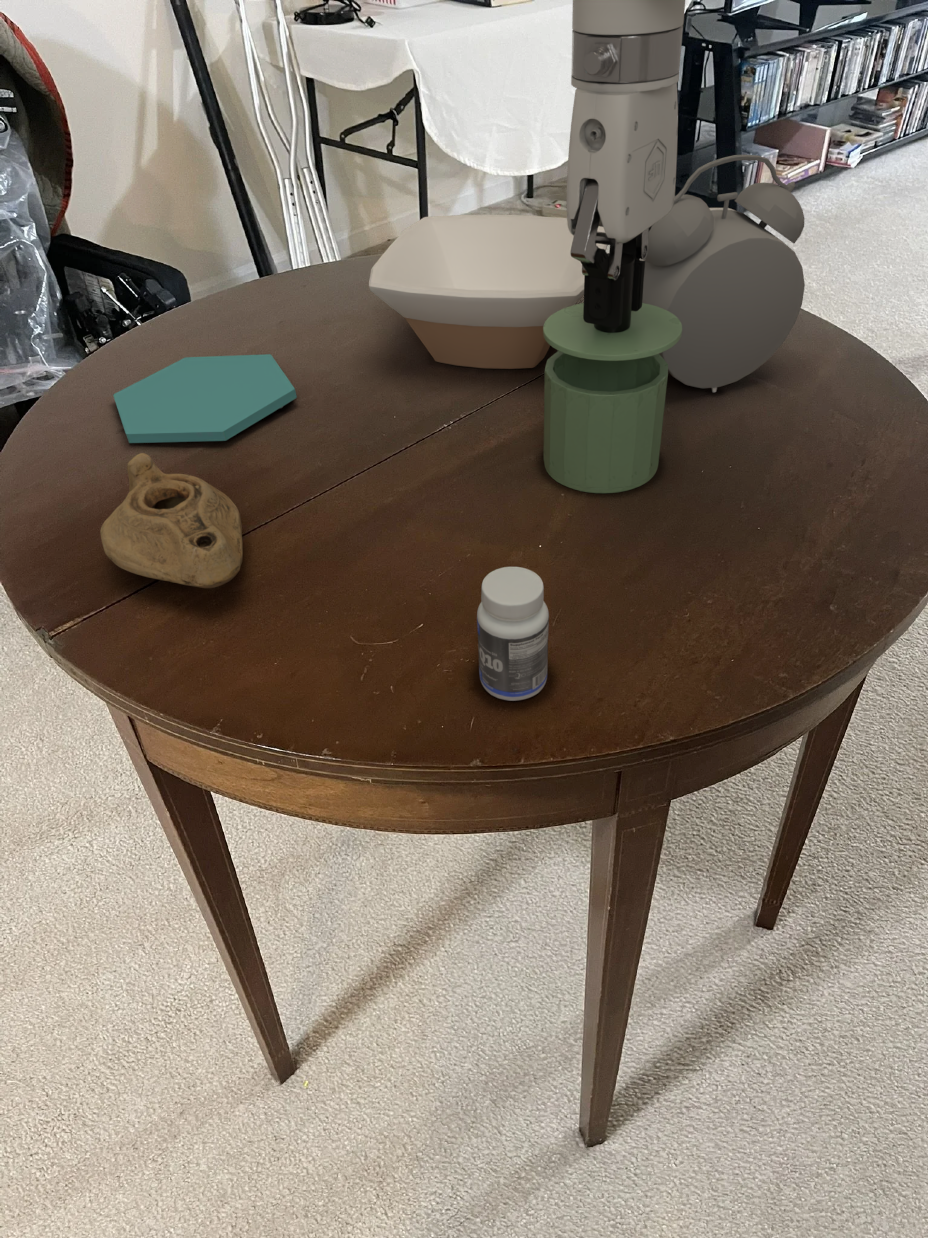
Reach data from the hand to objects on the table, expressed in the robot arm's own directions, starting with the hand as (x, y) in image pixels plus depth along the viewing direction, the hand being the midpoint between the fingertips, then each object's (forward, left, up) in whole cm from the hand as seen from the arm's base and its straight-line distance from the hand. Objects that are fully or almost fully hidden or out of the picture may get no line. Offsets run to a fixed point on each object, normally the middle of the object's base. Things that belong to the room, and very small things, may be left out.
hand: (612, 313), depth 76 cm
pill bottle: (+21, +21, -15) cm, 33 cm away
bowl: (-4, -28, -15) cm, 32 cm away
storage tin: (0, 0, -14) cm, 14 cm away
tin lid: (0, 0, -2) cm, 2 cm away
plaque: (+29, -31, -15) cm, 45 cm away
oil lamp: (+38, -4, -15) cm, 40 cm away
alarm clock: (-18, -8, -15) cm, 25 cm away
